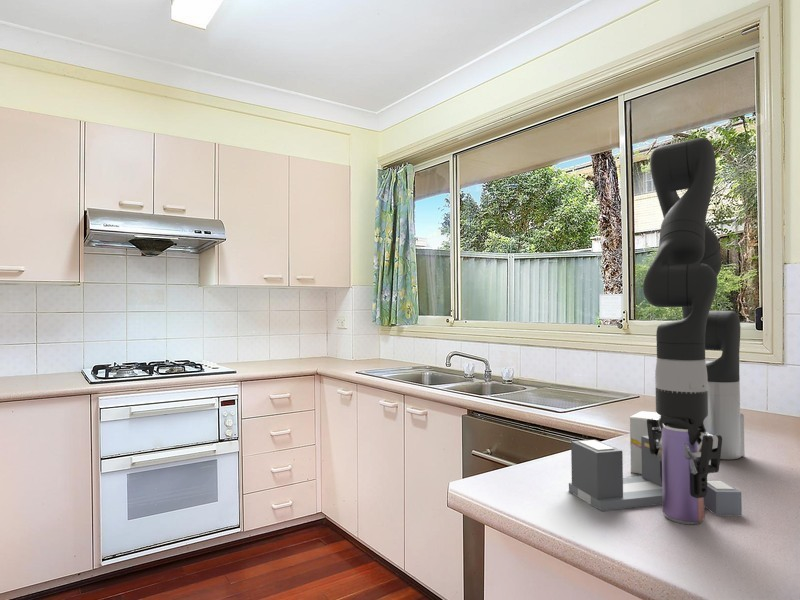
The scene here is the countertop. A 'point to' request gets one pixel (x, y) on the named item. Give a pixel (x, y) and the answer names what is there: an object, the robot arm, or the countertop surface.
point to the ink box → (639, 437)
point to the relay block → (723, 498)
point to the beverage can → (679, 477)
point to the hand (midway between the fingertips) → (682, 489)
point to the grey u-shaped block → (613, 476)
